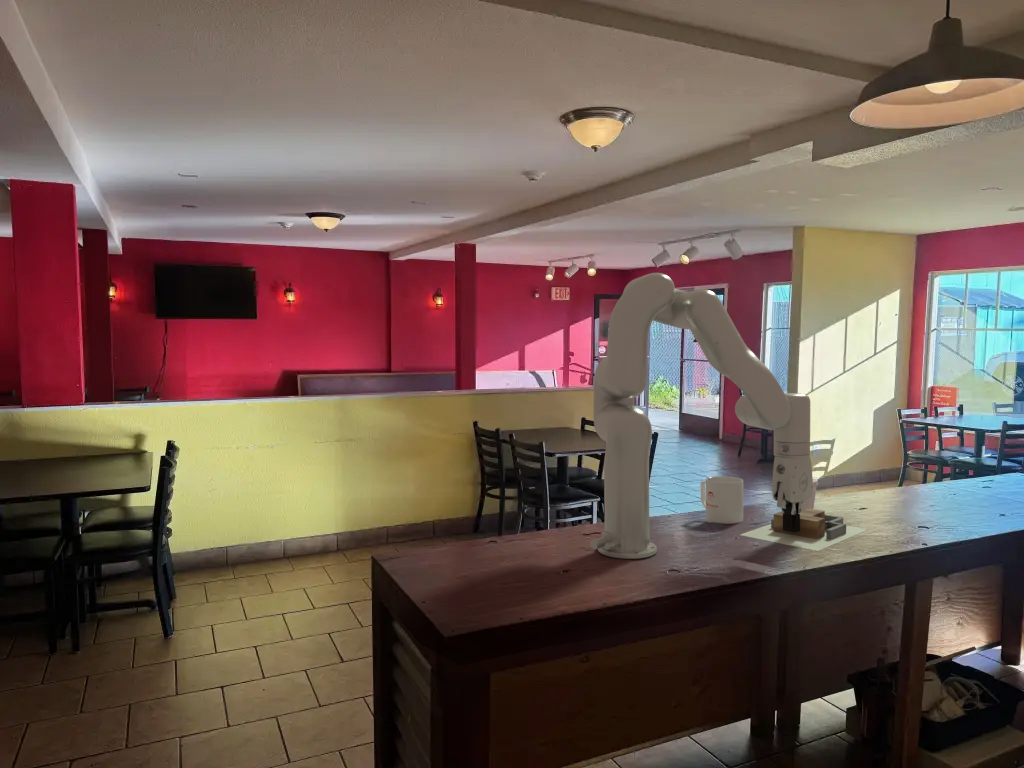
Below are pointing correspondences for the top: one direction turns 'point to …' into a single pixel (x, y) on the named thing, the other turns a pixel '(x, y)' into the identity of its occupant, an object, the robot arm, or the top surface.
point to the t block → (804, 524)
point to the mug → (723, 499)
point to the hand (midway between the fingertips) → (791, 530)
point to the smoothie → (810, 502)
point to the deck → (833, 535)
